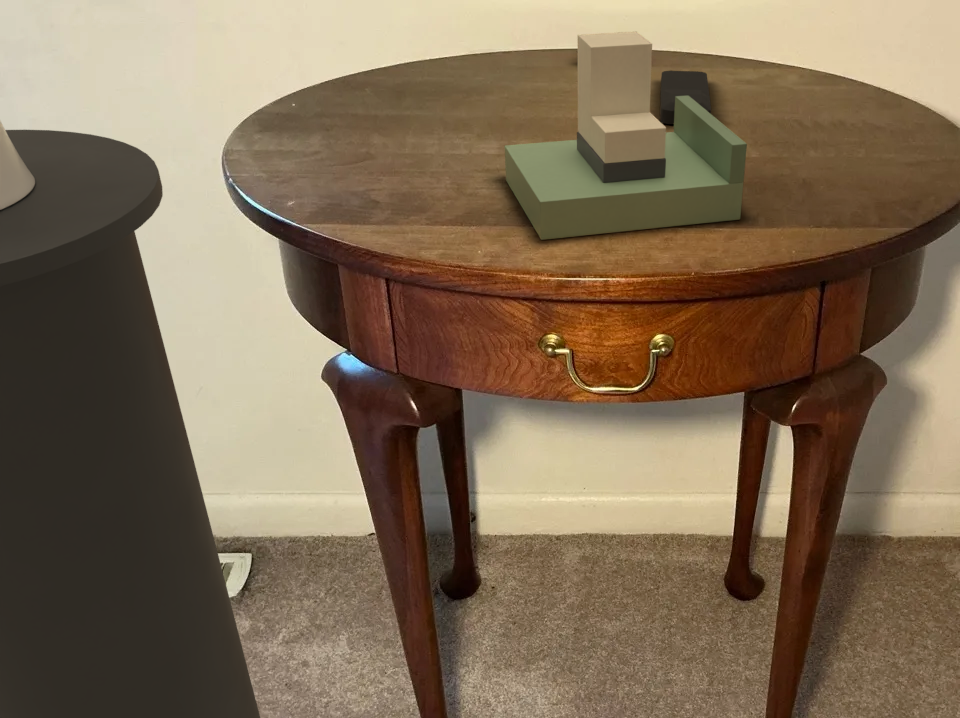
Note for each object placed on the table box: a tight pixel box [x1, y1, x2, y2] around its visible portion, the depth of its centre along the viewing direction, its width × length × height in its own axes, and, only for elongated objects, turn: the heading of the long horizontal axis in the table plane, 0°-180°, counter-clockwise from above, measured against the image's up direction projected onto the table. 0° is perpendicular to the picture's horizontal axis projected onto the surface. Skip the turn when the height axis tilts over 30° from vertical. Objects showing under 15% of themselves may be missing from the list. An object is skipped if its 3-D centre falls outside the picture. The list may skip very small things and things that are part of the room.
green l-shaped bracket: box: [504, 96, 748, 241], centre depth 84 cm, size 16×13×6 cm
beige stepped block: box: [576, 30, 667, 183], centre depth 81 cm, size 8×5×9 cm, turn 16°
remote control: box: [659, 70, 712, 125], centre depth 107 cm, size 5×2×15 cm
